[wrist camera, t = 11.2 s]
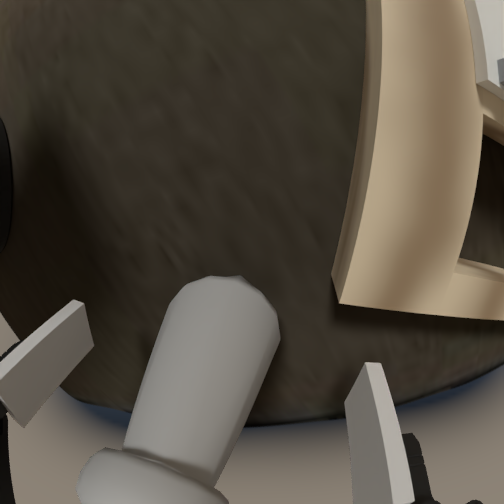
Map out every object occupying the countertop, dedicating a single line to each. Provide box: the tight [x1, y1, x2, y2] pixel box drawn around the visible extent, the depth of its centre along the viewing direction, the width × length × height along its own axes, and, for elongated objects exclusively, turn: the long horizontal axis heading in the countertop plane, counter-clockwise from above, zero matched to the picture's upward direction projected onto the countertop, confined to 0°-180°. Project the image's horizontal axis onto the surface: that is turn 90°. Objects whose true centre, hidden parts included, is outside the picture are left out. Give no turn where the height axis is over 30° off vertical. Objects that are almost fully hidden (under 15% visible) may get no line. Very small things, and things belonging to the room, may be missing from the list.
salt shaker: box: [76, 275, 281, 504], centre depth 9 cm, size 6×6×13 cm
